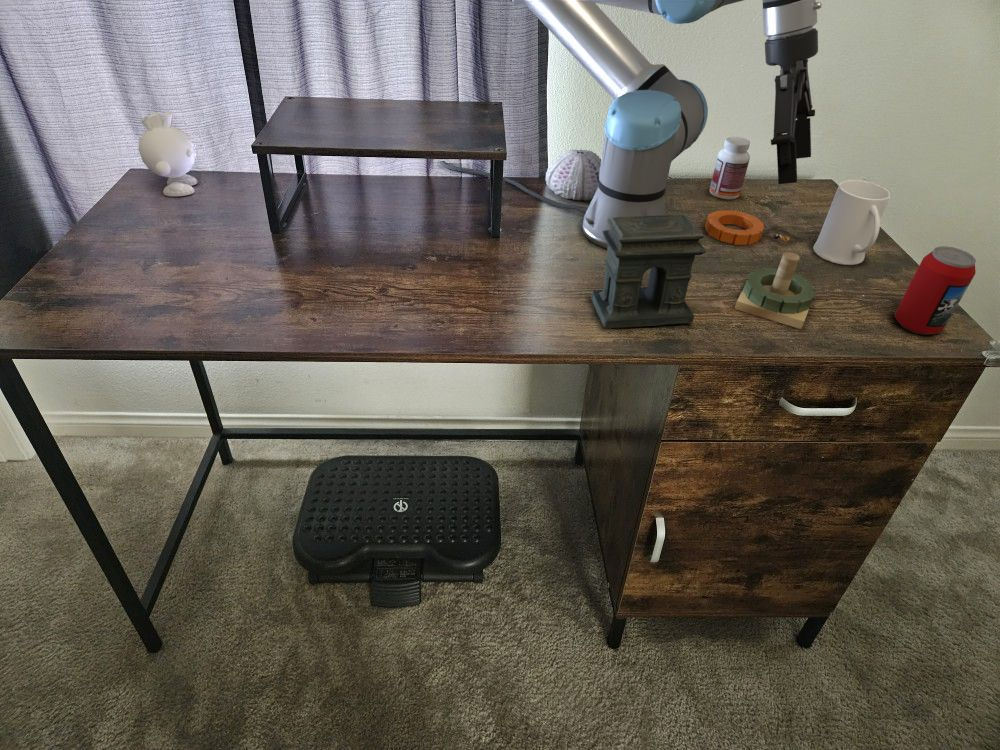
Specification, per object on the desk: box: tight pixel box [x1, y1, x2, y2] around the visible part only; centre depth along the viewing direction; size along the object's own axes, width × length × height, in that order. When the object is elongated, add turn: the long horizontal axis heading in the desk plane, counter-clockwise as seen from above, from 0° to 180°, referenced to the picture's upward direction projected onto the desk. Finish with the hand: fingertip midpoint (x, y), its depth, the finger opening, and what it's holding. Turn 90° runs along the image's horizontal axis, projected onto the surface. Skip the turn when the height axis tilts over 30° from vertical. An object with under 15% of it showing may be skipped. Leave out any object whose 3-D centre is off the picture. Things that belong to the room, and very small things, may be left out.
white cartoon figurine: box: [138, 109, 198, 197], centre depth 121 cm, size 15×10×15 cm, turn 13°
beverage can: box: [894, 245, 977, 336], centre depth 95 cm, size 7×7×12 cm
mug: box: [812, 179, 892, 266], centre depth 110 cm, size 12×8×12 cm
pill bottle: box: [709, 136, 751, 200], centre depth 130 cm, size 6×6×11 cm
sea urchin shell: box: [545, 149, 602, 201], centre depth 130 cm, size 13×14×8 cm
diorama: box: [773, 228, 791, 243], centre depth 119 cm, size 3×4×2 cm
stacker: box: [734, 251, 817, 330], centre depth 99 cm, size 10×10×8 cm
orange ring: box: [704, 209, 765, 246], centre depth 120 cm, size 10×10×2 cm
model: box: [590, 213, 707, 329], centre depth 94 cm, size 14×9×15 cm, turn 99°
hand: (795, 169), depth 110 cm, fingers open, 13 cm apart
